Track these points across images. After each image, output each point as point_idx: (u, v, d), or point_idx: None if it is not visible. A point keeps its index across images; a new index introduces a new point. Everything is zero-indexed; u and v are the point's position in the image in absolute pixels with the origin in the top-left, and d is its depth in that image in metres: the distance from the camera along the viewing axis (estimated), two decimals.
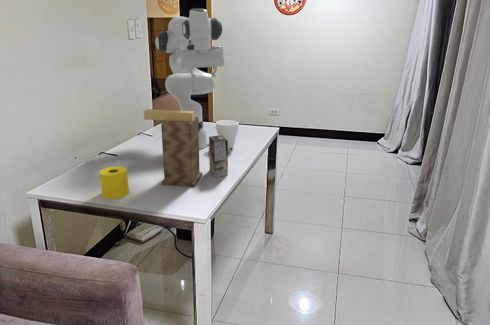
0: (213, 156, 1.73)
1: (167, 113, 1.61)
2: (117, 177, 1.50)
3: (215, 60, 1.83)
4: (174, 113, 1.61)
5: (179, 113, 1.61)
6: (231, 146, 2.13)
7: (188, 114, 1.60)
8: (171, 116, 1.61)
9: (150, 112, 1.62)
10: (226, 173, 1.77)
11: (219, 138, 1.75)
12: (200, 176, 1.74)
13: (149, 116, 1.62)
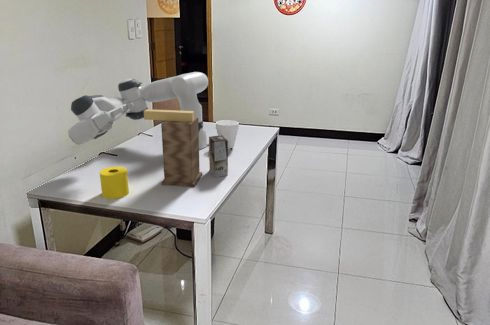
0: (213, 156, 1.73)
1: (167, 113, 1.61)
2: (117, 177, 1.50)
3: None
4: (174, 113, 1.61)
5: (179, 113, 1.61)
6: (231, 146, 2.13)
7: (188, 114, 1.60)
8: (171, 116, 1.61)
9: (150, 112, 1.62)
10: (226, 173, 1.77)
11: (219, 138, 1.75)
12: (200, 176, 1.74)
13: (149, 116, 1.62)
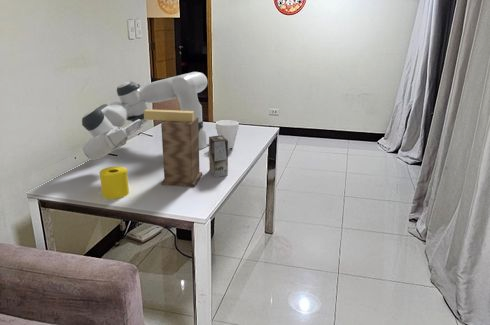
0: (213, 156, 1.73)
1: (167, 113, 1.61)
2: (117, 177, 1.50)
3: None
4: (174, 113, 1.61)
5: (179, 113, 1.61)
6: (231, 146, 2.13)
7: (188, 114, 1.60)
8: (171, 116, 1.61)
9: (150, 112, 1.62)
10: (226, 173, 1.77)
11: (219, 138, 1.75)
12: (200, 176, 1.74)
13: (149, 116, 1.62)
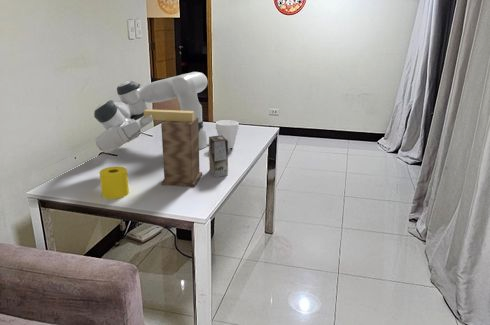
0: (213, 156, 1.73)
1: (167, 113, 1.61)
2: (117, 177, 1.50)
3: None
4: (174, 113, 1.61)
5: (179, 113, 1.61)
6: (231, 146, 2.13)
7: (188, 114, 1.60)
8: (171, 116, 1.61)
9: (150, 112, 1.62)
10: (226, 173, 1.77)
11: (219, 138, 1.75)
12: (200, 176, 1.74)
13: None
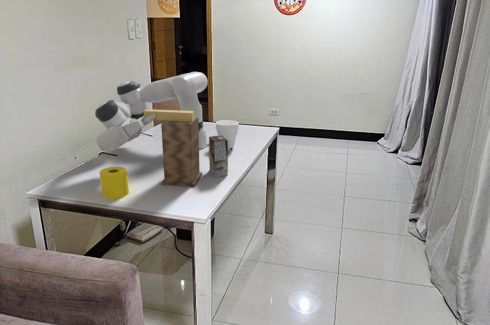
0: (213, 156, 1.73)
1: (167, 113, 1.61)
2: (117, 177, 1.50)
3: None
4: (174, 113, 1.61)
5: (179, 113, 1.61)
6: (231, 146, 2.13)
7: (188, 114, 1.60)
8: (171, 116, 1.61)
9: (150, 112, 1.62)
10: (226, 173, 1.77)
11: (219, 138, 1.75)
12: (200, 176, 1.74)
13: None
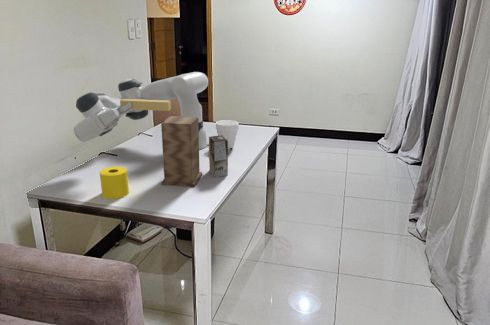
0: (213, 156, 1.73)
1: (143, 102, 1.61)
2: (117, 177, 1.50)
3: None
4: (150, 102, 1.60)
5: (155, 102, 1.60)
6: (231, 146, 2.13)
7: (164, 103, 1.60)
8: (147, 105, 1.61)
9: (126, 101, 1.62)
10: (226, 173, 1.77)
11: (219, 138, 1.75)
12: (200, 176, 1.74)
13: None
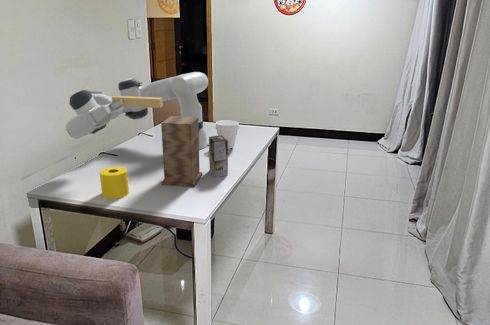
0: (213, 156, 1.73)
1: (135, 99, 1.61)
2: (117, 177, 1.50)
3: None
4: (142, 99, 1.60)
5: (147, 99, 1.60)
6: (231, 146, 2.13)
7: (156, 100, 1.60)
8: (139, 102, 1.61)
9: (118, 98, 1.62)
10: (226, 173, 1.77)
11: (219, 138, 1.75)
12: (200, 176, 1.74)
13: None
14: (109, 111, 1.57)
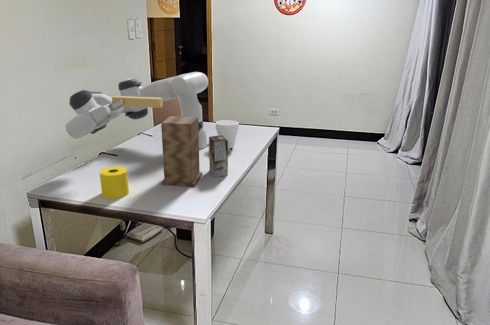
0: (213, 156, 1.73)
1: (135, 99, 1.61)
2: (117, 177, 1.50)
3: None
4: (142, 99, 1.60)
5: (147, 99, 1.60)
6: (231, 146, 2.13)
7: (156, 100, 1.60)
8: (139, 102, 1.61)
9: (118, 98, 1.62)
10: (226, 173, 1.77)
11: (219, 138, 1.75)
12: (200, 176, 1.74)
13: None
14: (109, 111, 1.57)
